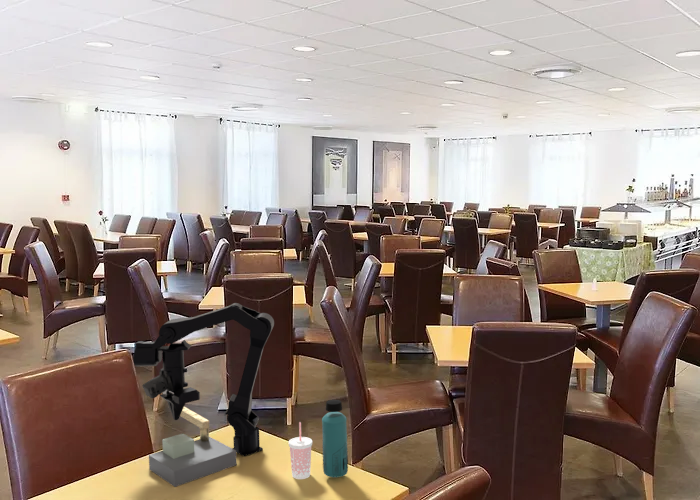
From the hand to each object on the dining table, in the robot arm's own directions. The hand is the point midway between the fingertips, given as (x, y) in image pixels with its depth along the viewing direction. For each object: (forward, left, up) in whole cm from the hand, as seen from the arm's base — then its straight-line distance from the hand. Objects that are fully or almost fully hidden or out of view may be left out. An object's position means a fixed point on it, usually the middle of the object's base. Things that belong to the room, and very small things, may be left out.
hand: (176, 419), depth 178 cm
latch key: (-5, 0, -5) cm, 7 cm away
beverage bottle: (-21, +44, -10) cm, 49 cm away
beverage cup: (-16, +36, -10) cm, 41 cm away
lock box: (+2, +12, -9) cm, 16 cm away
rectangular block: (+4, +9, -5) cm, 12 cm away
